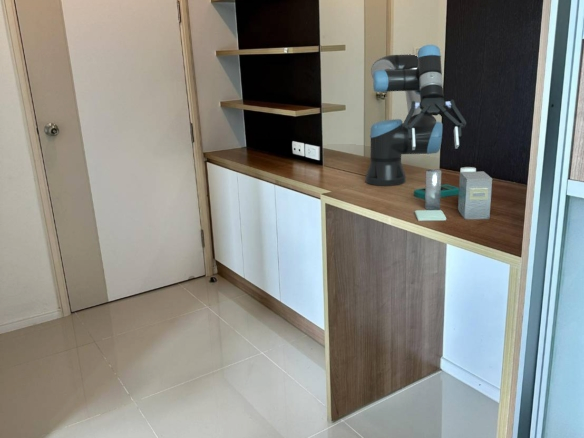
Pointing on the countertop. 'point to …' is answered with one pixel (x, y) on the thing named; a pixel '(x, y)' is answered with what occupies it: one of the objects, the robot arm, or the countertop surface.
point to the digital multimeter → (445, 191)
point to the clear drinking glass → (433, 189)
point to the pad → (429, 215)
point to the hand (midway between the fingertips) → (435, 147)
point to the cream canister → (468, 169)
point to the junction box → (474, 195)
